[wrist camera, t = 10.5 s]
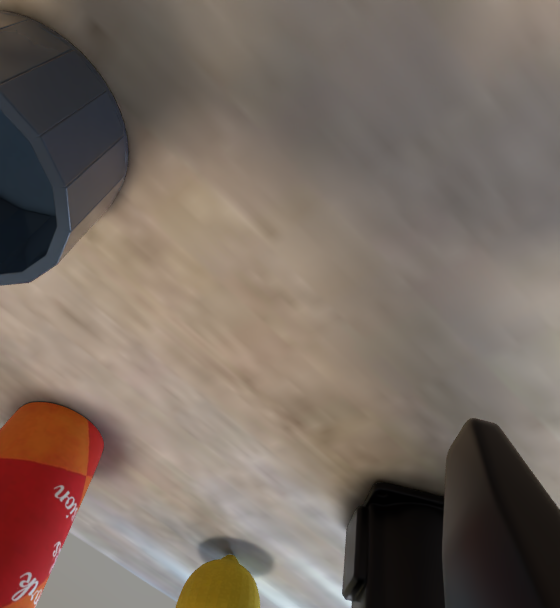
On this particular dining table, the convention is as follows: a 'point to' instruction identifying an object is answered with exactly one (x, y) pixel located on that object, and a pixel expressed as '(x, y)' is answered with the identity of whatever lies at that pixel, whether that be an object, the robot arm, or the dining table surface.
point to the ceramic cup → (52, 148)
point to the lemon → (220, 586)
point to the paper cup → (40, 493)
